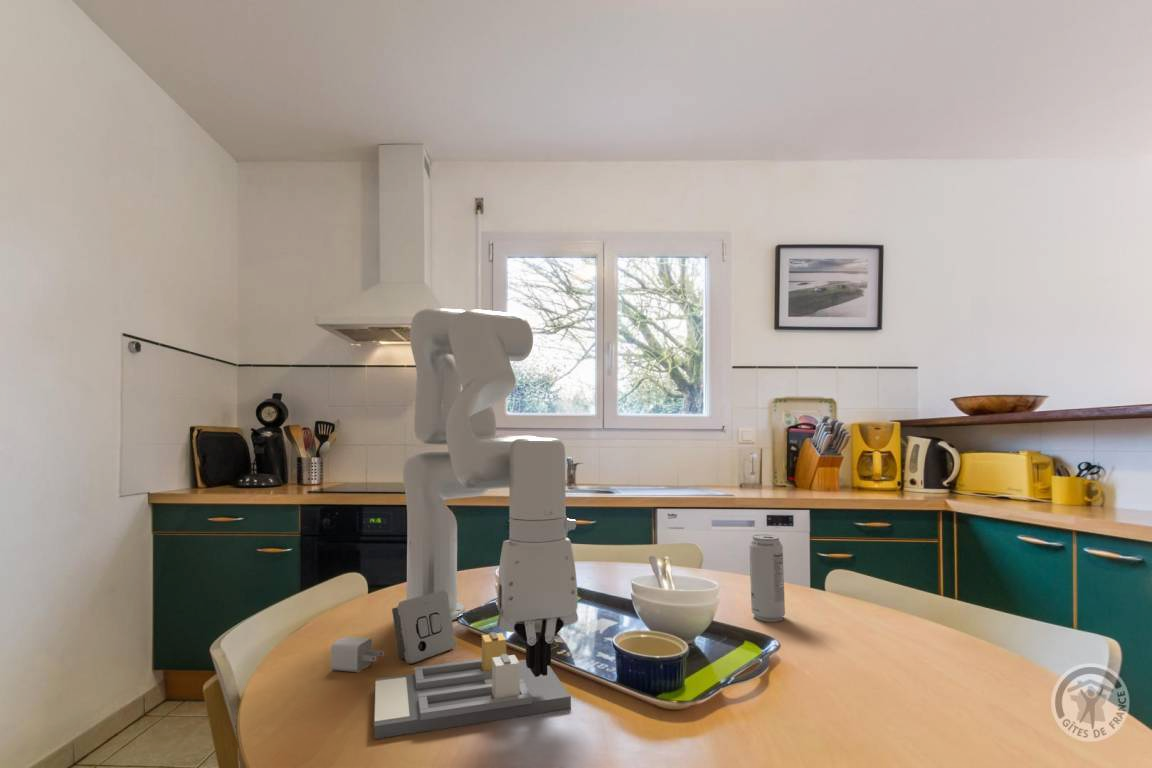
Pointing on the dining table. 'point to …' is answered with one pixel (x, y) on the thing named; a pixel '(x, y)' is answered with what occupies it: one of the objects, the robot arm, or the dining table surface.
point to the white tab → (505, 676)
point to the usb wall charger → (352, 654)
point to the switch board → (459, 698)
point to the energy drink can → (767, 578)
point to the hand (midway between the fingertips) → (538, 671)
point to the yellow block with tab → (492, 648)
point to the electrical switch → (423, 626)
